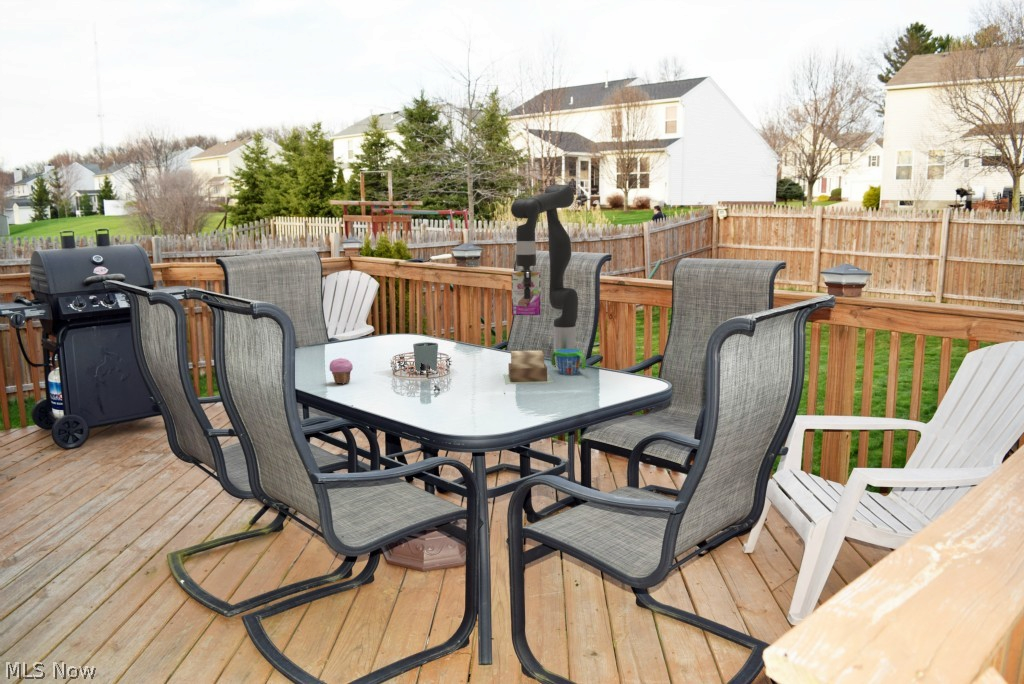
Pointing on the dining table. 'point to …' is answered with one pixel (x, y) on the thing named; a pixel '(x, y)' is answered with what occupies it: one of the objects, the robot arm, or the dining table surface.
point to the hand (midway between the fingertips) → (526, 297)
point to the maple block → (527, 359)
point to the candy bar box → (518, 301)
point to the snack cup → (568, 361)
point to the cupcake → (341, 370)
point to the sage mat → (507, 381)
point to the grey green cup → (426, 355)
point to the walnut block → (527, 374)
